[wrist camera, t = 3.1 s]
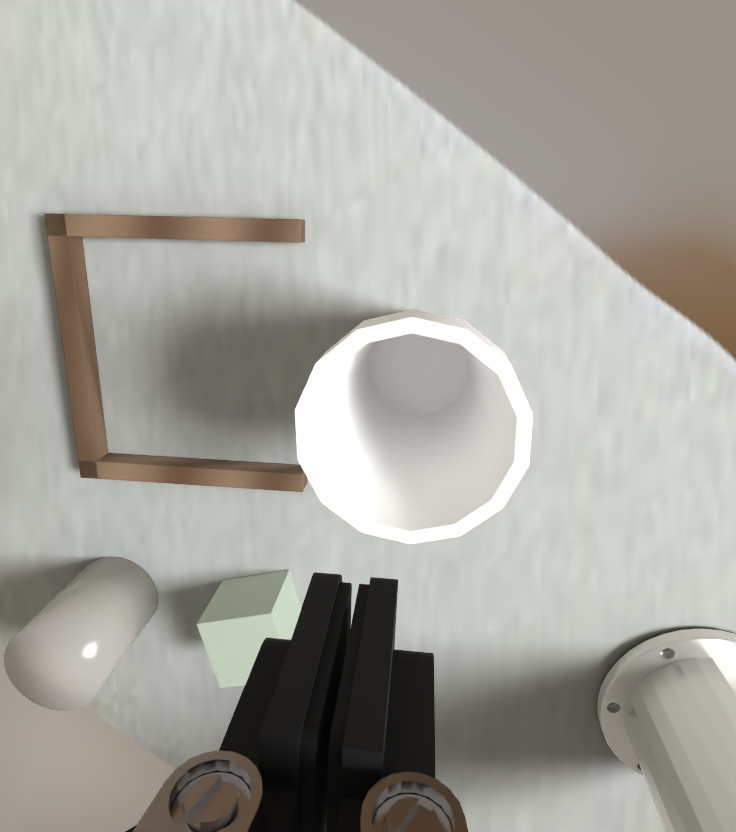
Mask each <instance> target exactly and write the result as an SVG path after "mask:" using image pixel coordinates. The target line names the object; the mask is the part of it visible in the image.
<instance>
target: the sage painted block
mask: <svg viewBox="0 0 736 832" xmlns="http://www.w3.org/2000/svg"><path fill="white" fill-rule="evenodd" d="M300 612H301V606H300V602H299V599H298V596H297V593H296V589H295V586H294V583H293V580H292V577H291V573H290V570H284V571H278V572H271V573H265V574H259V575H252V576H246V577H239V578H233V579H227V580H223V581H222V582H221V584H220V586H219V587H218V589H217V591H216V592H215V594H214V596H213V597H212V599H211V601H210V602H209V604H208V606H207V607H206V609H205V611H204V612H203V614H202V616H201V617H200V619H199V621H198V622H197V627H198V630H199V632H200V635H201V638H202V640H203V643H204V646H205V648H206V651H207V654H208V657H209V659H210V662H211V665H212V667H213V670H214V673H215V675H216V678H217V681H218V684H219V686H220V688H226V687H234V686H242V685H246V682H247V680H248V677H249V675H250V672H251V670H252V667H253V665H254V662H255V660H256V657H257V655H258V652H259V650H260V647H261V645H262V643H263V641H264V639H266V638H277V639H288V640H291V639H292V636H293V633H294V630H295V627H296V624H297V621H298V618H299V615H300Z"/></svg>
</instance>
